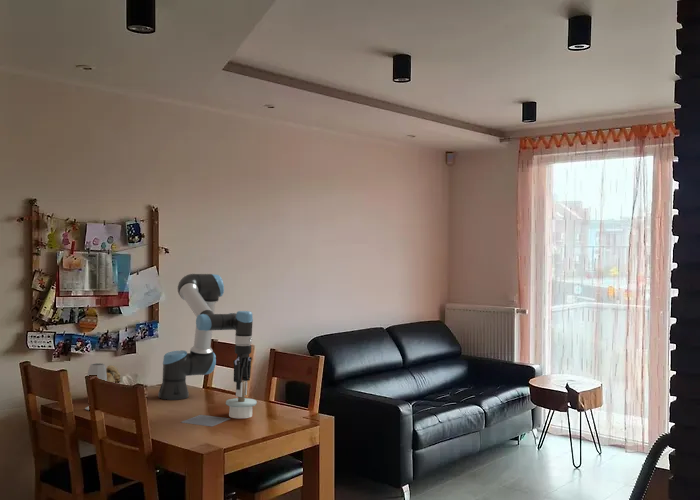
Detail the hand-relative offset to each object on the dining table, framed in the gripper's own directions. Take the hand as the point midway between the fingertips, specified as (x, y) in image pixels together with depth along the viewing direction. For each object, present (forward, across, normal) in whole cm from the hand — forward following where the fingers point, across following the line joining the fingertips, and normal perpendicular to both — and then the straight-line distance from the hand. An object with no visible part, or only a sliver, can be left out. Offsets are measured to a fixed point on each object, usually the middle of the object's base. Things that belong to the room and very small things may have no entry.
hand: (241, 395), depth 303 cm
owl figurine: (+10, +1, +76) cm, 77 cm away
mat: (+10, -15, +9) cm, 20 cm away
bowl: (+10, 0, 0) cm, 10 cm away
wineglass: (+10, -19, +66) cm, 69 cm away
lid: (+4, 0, 0) cm, 4 cm away
